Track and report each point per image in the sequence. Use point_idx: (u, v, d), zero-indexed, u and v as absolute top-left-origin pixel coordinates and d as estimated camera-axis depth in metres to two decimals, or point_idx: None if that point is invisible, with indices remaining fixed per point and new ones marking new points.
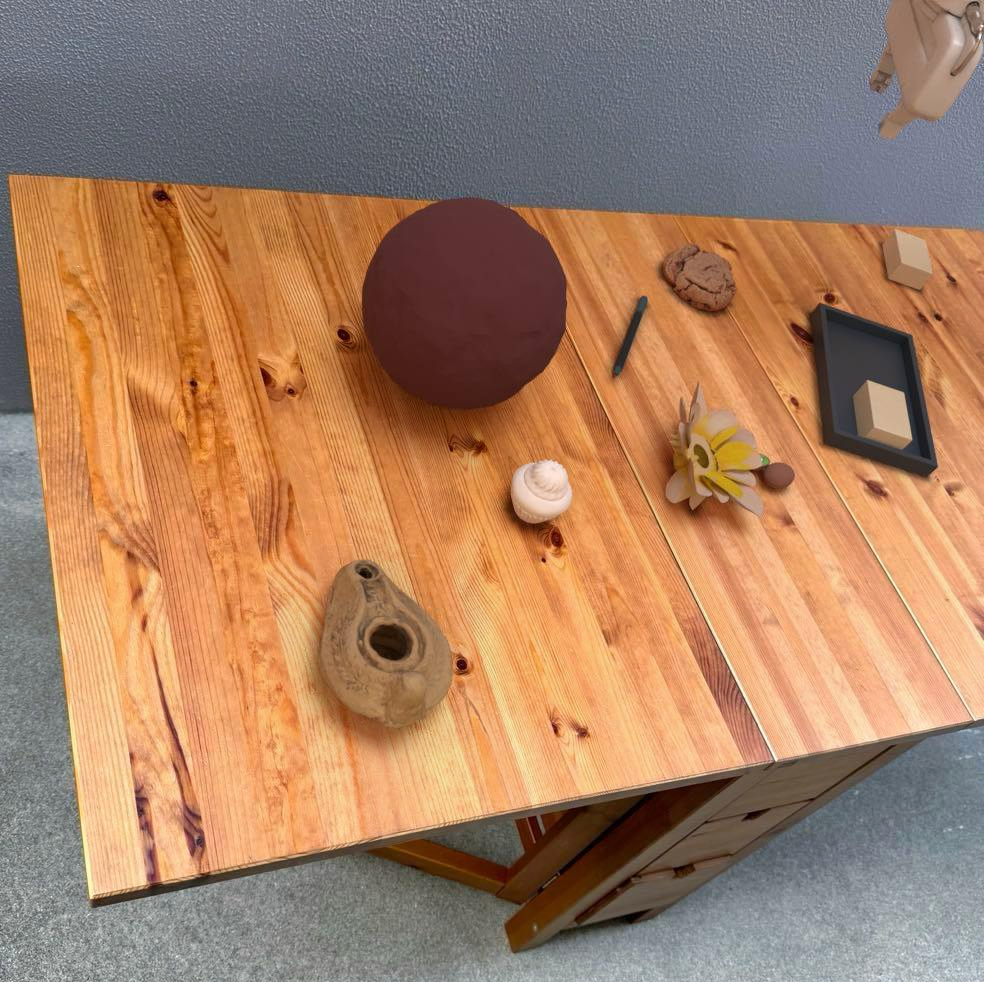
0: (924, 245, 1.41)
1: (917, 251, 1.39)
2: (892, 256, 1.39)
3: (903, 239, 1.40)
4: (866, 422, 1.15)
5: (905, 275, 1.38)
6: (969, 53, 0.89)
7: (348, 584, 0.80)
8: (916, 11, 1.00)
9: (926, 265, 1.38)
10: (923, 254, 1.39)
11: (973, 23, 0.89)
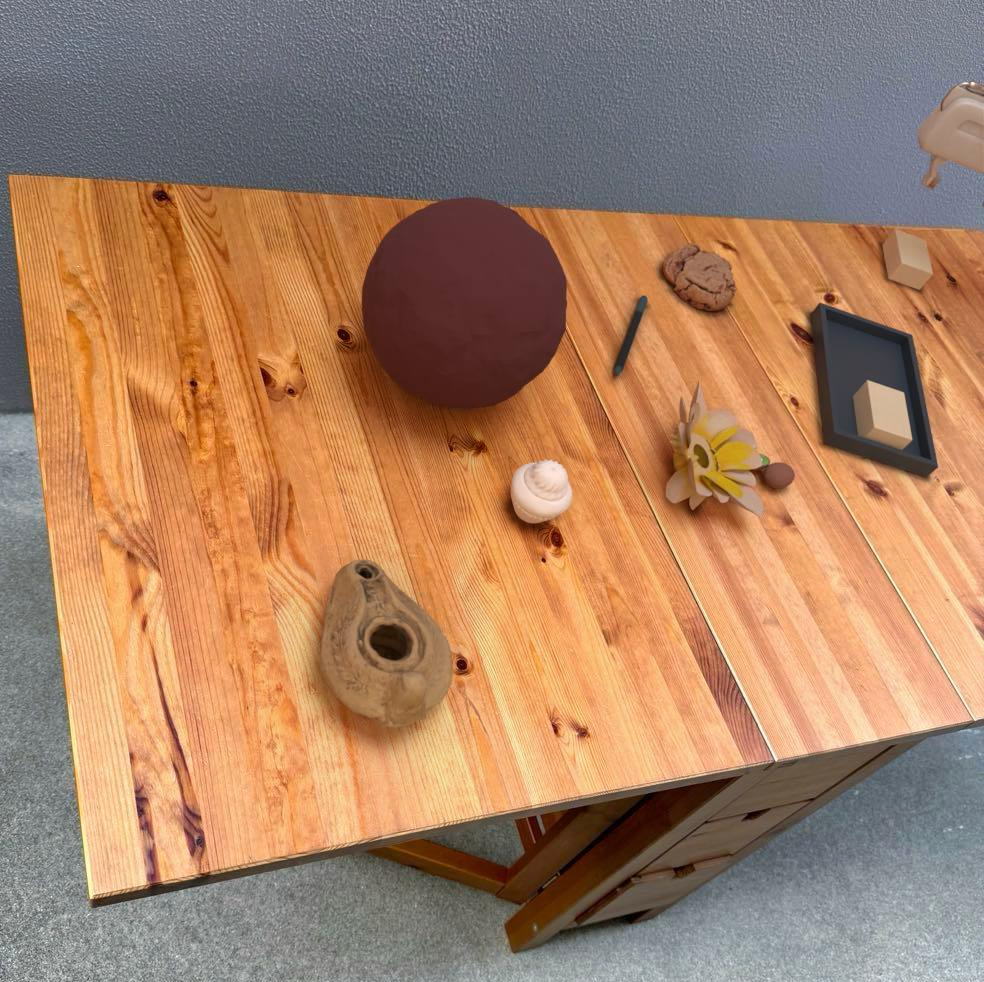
0: (924, 245, 1.41)
1: (917, 251, 1.39)
2: (892, 256, 1.39)
3: (903, 239, 1.40)
4: (866, 422, 1.15)
5: (905, 275, 1.38)
6: (949, 90, 1.21)
7: (348, 584, 0.80)
8: None
9: (926, 265, 1.38)
10: (923, 254, 1.39)
11: None
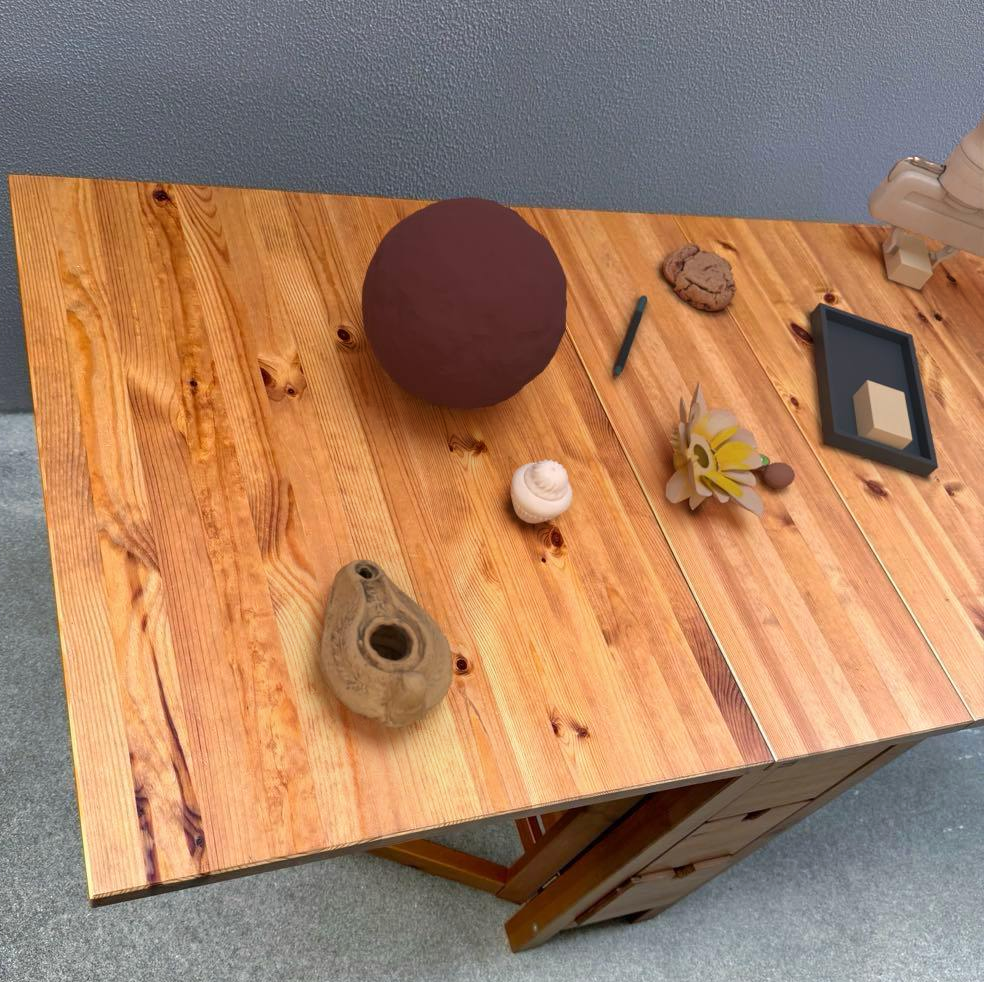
0: (924, 245, 1.41)
1: (917, 251, 1.39)
2: (892, 256, 1.39)
3: (903, 239, 1.40)
4: (866, 422, 1.15)
5: (904, 275, 1.38)
6: (895, 164, 1.30)
7: (348, 584, 0.80)
8: None
9: (926, 265, 1.38)
10: (923, 254, 1.39)
11: None
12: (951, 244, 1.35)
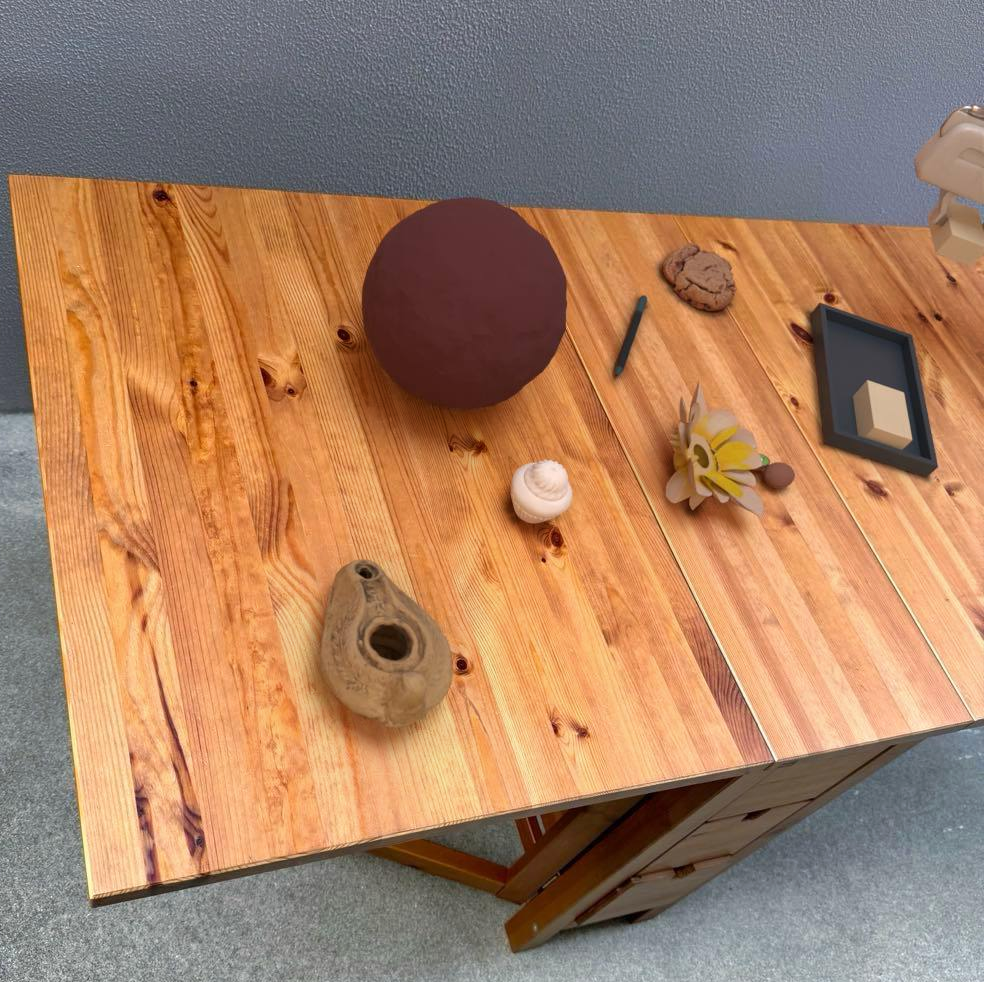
0: (977, 215, 1.20)
1: (970, 222, 1.19)
2: (940, 227, 1.19)
3: (953, 207, 1.20)
4: (866, 422, 1.15)
5: (955, 250, 1.17)
6: (949, 114, 1.09)
7: (348, 584, 0.80)
8: None
9: (980, 238, 1.17)
10: (977, 225, 1.19)
11: None
12: None
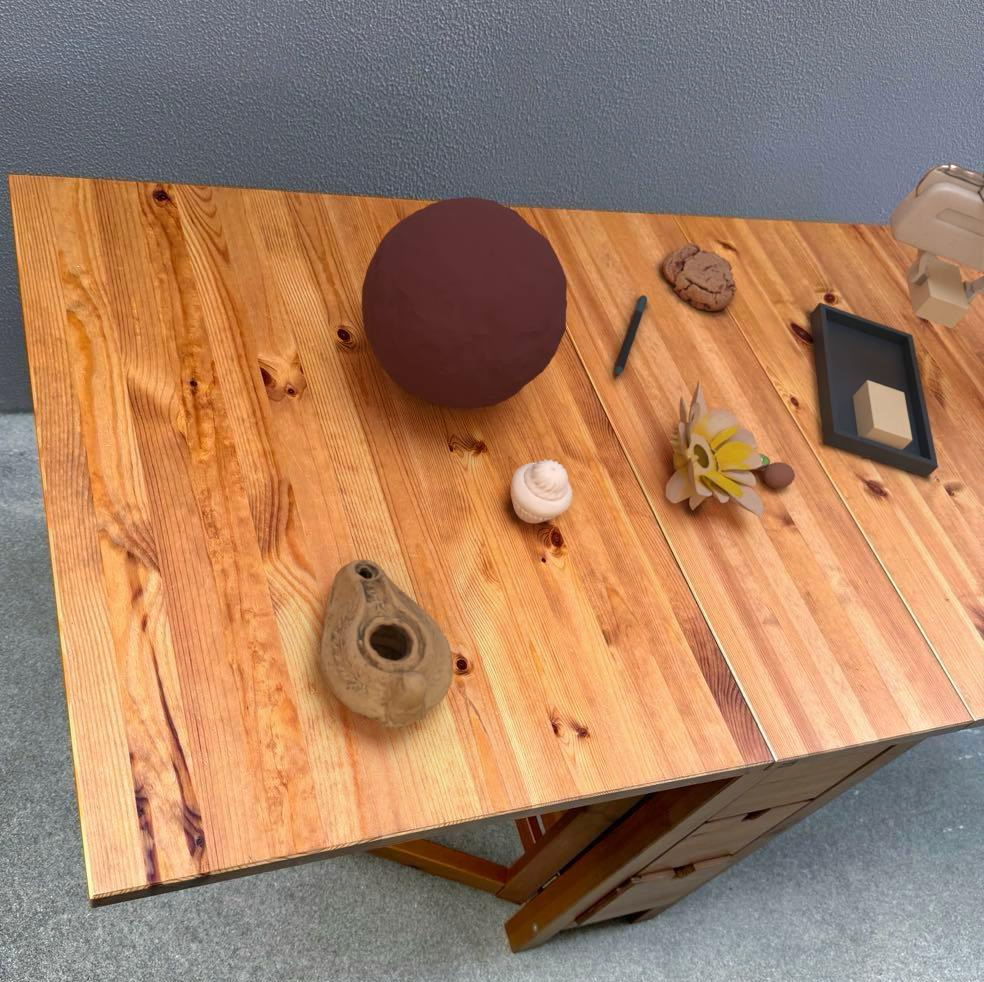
0: (957, 273, 1.14)
1: (950, 281, 1.13)
2: (919, 287, 1.13)
3: (932, 265, 1.14)
4: (866, 422, 1.15)
5: (934, 311, 1.11)
6: None
7: (348, 584, 0.80)
8: None
9: (961, 298, 1.11)
10: (957, 284, 1.13)
11: None
12: None
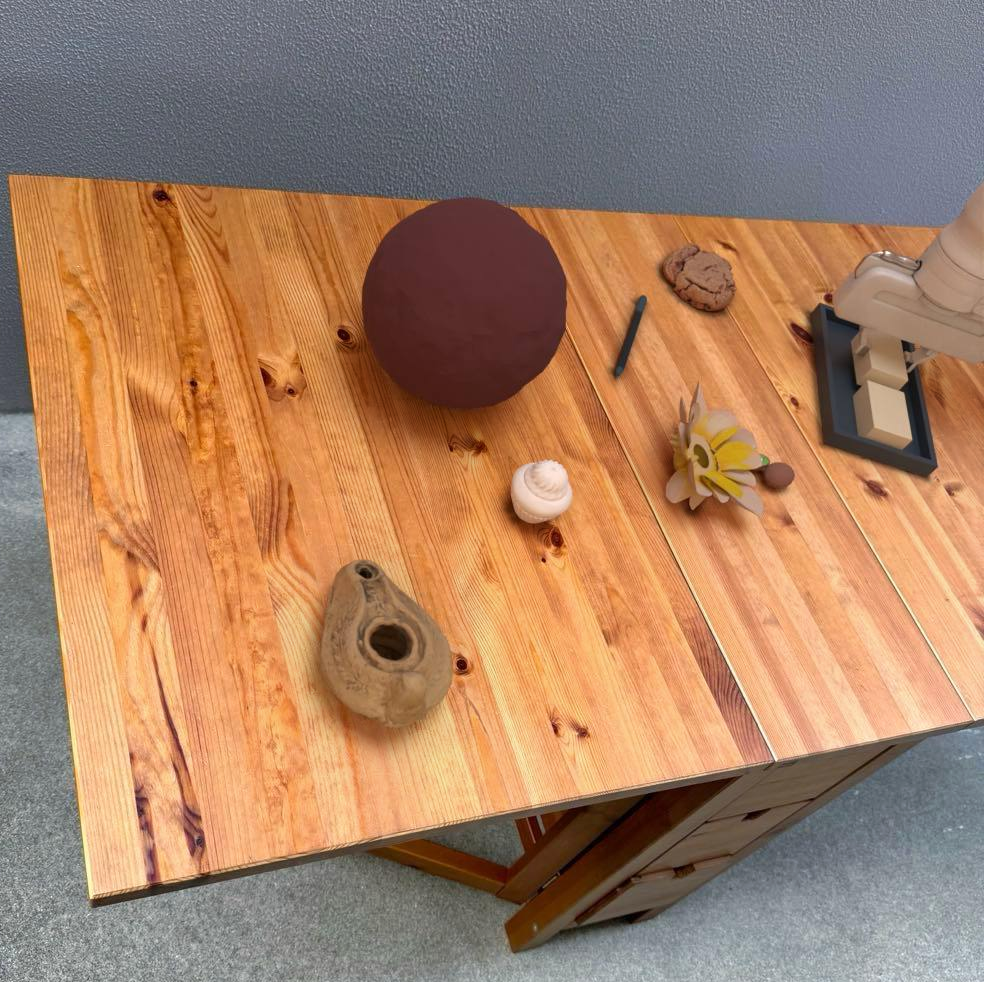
0: (899, 343, 1.22)
1: (891, 352, 1.20)
2: (862, 358, 1.20)
3: (874, 336, 1.21)
4: (866, 422, 1.15)
5: (876, 381, 1.19)
6: (863, 258, 1.11)
7: (348, 584, 0.80)
8: None
9: (900, 369, 1.19)
10: (898, 355, 1.20)
11: None
12: (929, 347, 1.16)
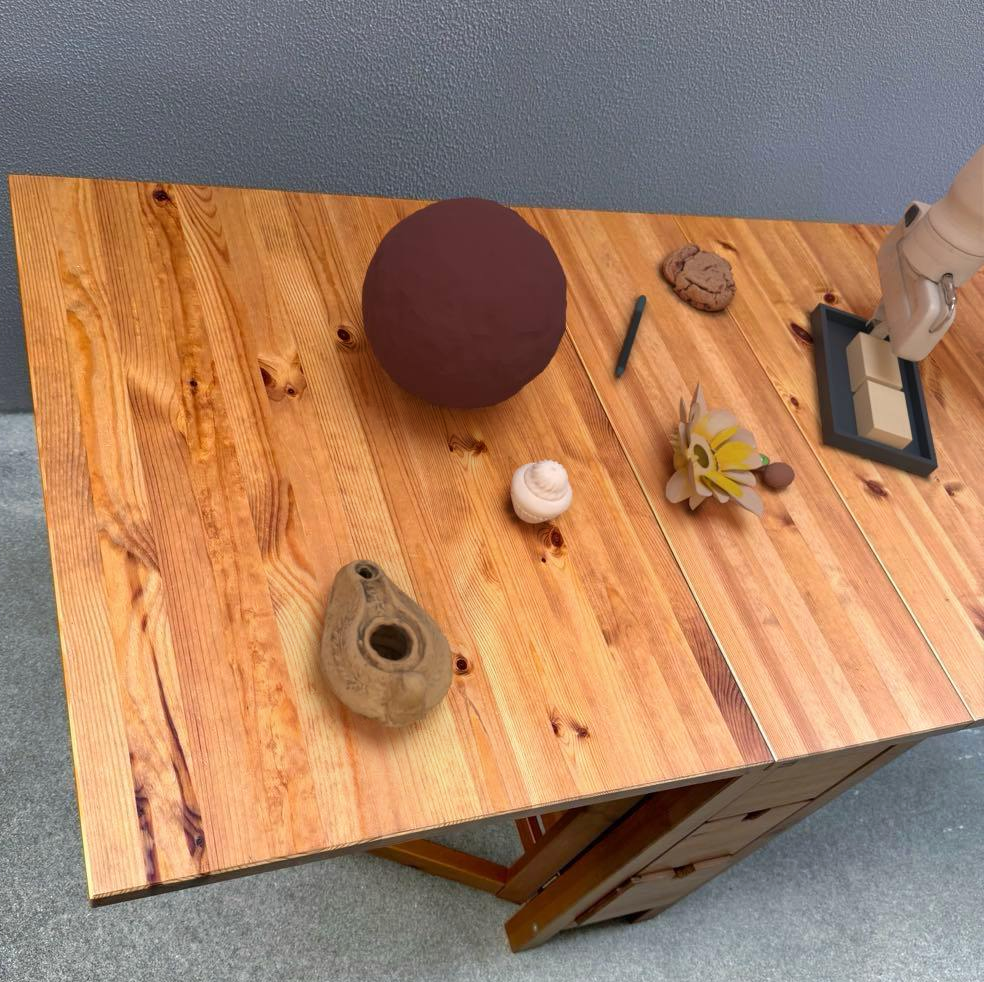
0: None
1: (885, 359, 1.21)
2: (856, 365, 1.21)
3: (869, 344, 1.22)
4: (866, 422, 1.15)
5: None
6: (944, 320, 1.09)
7: (348, 584, 0.80)
8: (902, 262, 1.20)
9: (895, 376, 1.20)
10: (892, 362, 1.21)
11: (947, 295, 1.10)
12: None
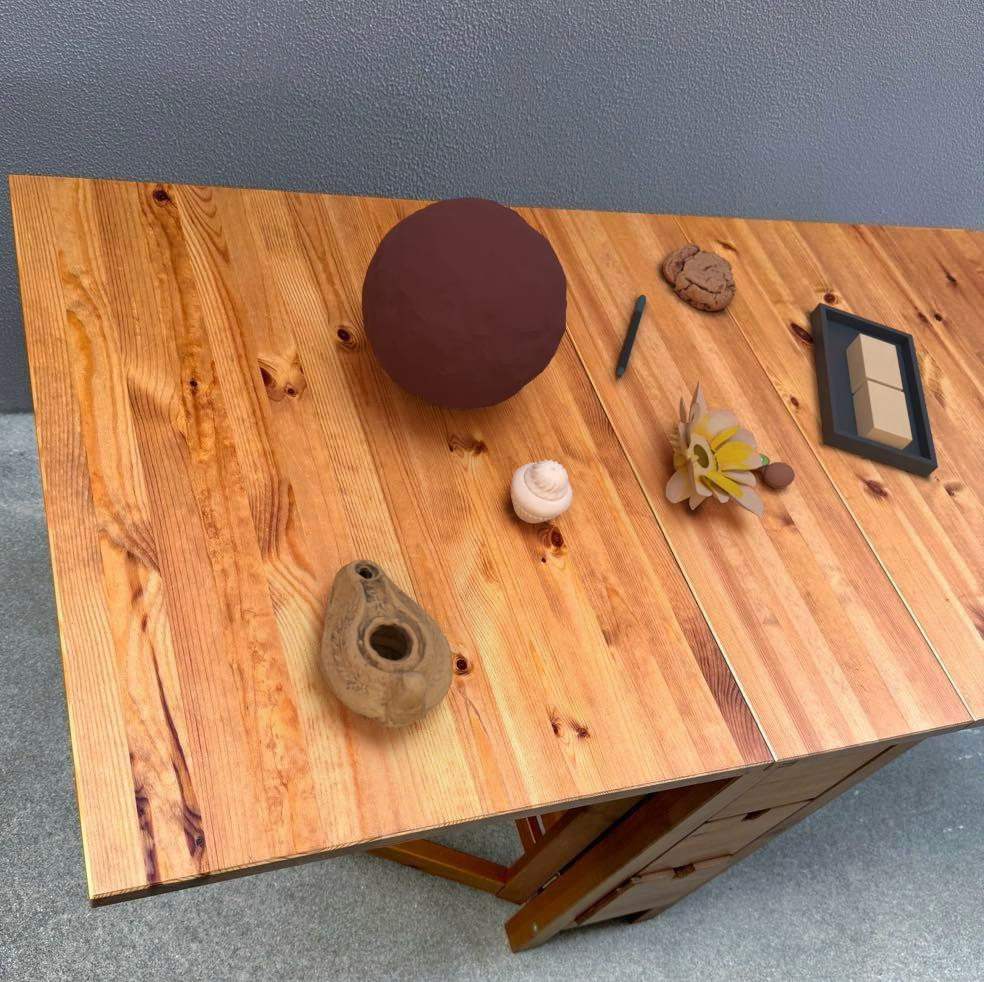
0: (893, 352, 1.22)
1: (885, 361, 1.21)
2: (856, 366, 1.21)
3: (869, 345, 1.22)
4: (866, 422, 1.15)
5: None
6: None
7: (348, 584, 0.80)
8: None
9: (895, 378, 1.19)
10: (892, 364, 1.21)
11: None
12: None
